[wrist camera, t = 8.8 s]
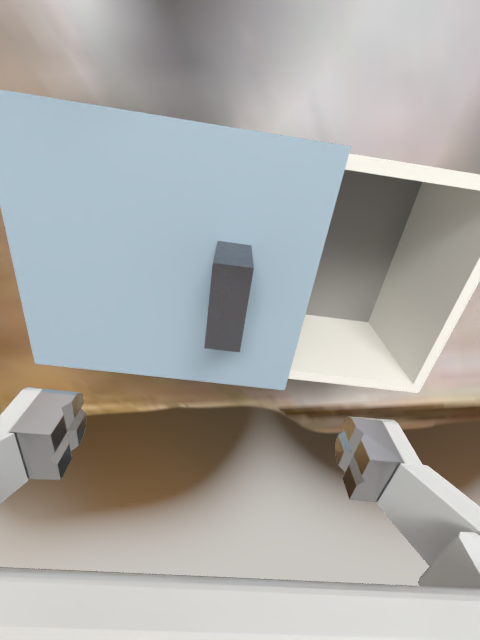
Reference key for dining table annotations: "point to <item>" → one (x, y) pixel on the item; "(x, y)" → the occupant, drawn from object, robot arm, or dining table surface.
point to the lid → (162, 239)
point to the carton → (391, 275)
